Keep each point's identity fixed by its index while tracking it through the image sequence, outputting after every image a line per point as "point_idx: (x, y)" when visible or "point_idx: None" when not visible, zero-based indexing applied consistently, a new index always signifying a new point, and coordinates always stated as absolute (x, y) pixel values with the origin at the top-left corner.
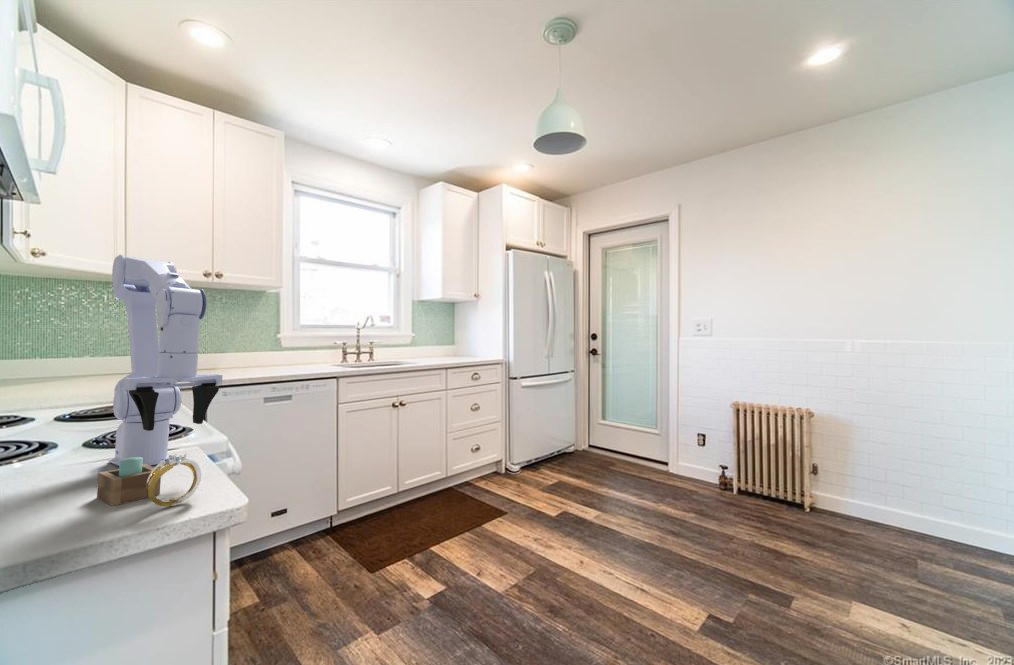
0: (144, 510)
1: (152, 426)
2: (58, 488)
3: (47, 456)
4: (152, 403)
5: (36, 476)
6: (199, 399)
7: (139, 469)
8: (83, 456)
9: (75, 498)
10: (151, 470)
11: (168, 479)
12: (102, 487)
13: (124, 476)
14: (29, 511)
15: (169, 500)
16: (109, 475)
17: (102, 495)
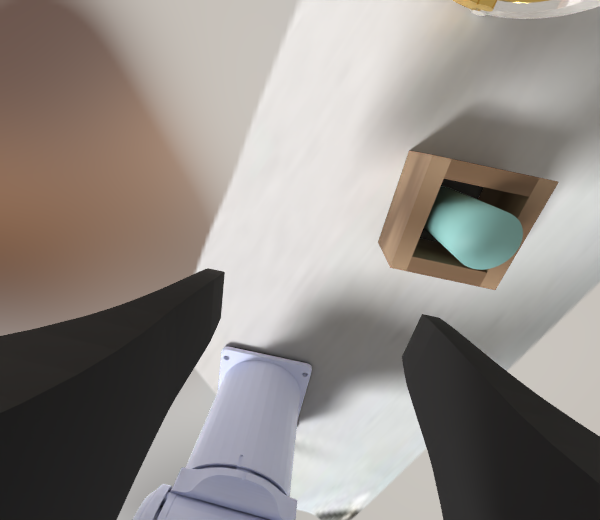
0: (525, 53)
1: (439, 323)
2: None
3: (313, 507)
4: (579, 447)
5: (391, 444)
6: (135, 400)
7: (467, 204)
8: None
9: (474, 292)
10: (441, 183)
11: (316, 243)
12: None
13: (517, 192)
14: (554, 292)
15: (494, 7)
16: None
17: None
